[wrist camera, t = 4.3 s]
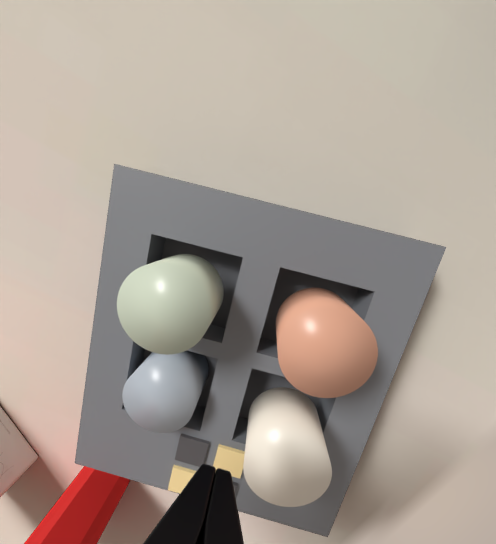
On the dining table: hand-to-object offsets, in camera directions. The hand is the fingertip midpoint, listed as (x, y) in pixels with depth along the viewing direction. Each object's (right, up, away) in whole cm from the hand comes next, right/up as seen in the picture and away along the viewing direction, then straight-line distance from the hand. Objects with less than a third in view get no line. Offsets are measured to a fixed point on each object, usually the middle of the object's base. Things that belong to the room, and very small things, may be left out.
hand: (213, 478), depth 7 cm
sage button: (-2, +5, +7) cm, 8 cm away
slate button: (-4, -1, +10) cm, 10 cm away
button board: (0, +1, +10) cm, 10 cm away
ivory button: (+3, -3, +8) cm, 9 cm away
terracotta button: (+4, +3, +6) cm, 8 cm away
